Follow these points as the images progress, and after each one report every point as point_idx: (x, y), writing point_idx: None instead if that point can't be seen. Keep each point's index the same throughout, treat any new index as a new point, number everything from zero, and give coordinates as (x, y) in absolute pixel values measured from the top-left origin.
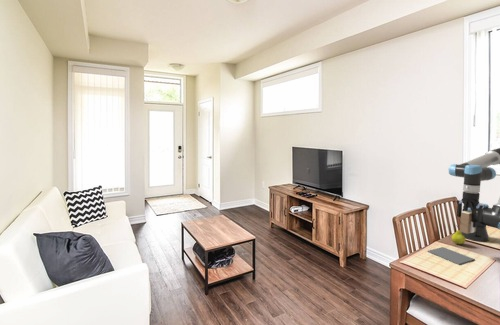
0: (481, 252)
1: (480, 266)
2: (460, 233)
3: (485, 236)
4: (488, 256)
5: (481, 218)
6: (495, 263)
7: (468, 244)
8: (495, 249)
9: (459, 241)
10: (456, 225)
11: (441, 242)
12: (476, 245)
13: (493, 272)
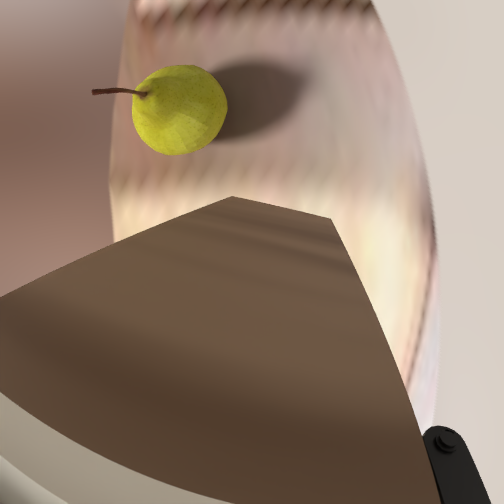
0: (350, 150)
1: None
2: (171, 107)
3: None
4: (397, 192)
5: (474, 491)
6: (439, 282)
7: (243, 62)
8: (381, 21)
9: (202, 147)
10: (95, 94)
11: (125, 190)
12: (283, 37)
13: (429, 398)
